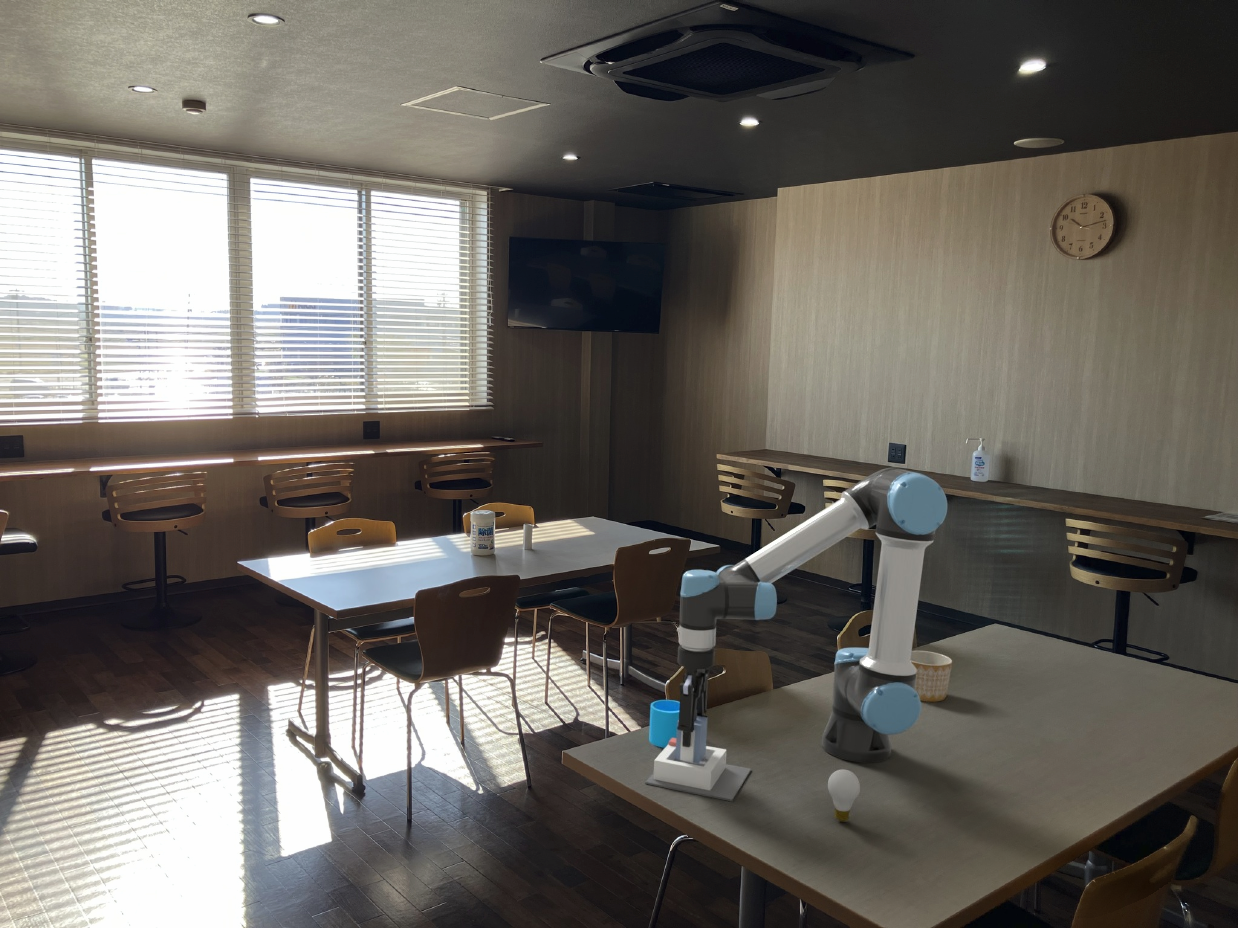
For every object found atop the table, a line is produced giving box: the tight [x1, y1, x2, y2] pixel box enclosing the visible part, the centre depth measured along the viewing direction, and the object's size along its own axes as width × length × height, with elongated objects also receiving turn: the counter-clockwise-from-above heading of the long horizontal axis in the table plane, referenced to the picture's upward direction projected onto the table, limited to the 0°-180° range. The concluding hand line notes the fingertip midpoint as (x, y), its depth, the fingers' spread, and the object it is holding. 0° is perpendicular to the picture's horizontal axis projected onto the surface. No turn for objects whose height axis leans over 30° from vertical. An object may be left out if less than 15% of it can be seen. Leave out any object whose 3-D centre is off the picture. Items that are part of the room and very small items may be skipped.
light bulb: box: [827, 769, 861, 823], centre depth 180 cm, size 6×6×10 cm
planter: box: [910, 650, 953, 703], centre depth 253 cm, size 13×13×10 cm
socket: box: [644, 738, 752, 802], centre depth 197 cm, size 18×16×5 cm
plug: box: [675, 710, 709, 764], centre depth 197 cm, size 5×5×10 cm
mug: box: [648, 699, 680, 749], centre depth 217 cm, size 12×8×8 cm
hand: (690, 755), depth 198 cm, fingers closed on plug, 5 cm apart
